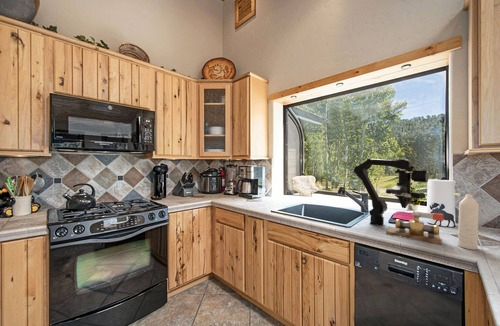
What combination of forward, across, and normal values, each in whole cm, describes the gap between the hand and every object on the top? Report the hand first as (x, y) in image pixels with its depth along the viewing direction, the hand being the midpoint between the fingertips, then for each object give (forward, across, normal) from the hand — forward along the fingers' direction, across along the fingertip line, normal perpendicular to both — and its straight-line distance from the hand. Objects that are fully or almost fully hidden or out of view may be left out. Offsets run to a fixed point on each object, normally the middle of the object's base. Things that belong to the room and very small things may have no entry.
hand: (403, 207), depth 123 cm
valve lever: (+3, +13, -1) cm, 13 cm away
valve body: (+12, +9, -4) cm, 15 cm away
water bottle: (+13, +25, +4) cm, 29 cm away
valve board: (+13, +8, -5) cm, 16 cm away
